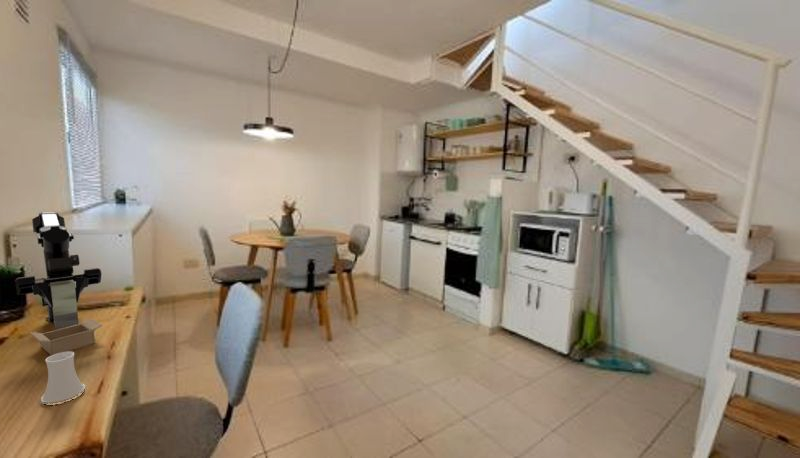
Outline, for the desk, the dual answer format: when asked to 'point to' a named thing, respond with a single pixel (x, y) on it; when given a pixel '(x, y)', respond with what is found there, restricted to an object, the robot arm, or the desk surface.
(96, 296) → the desk surface
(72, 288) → the box
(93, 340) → the carton
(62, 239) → the robot arm
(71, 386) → the vase
